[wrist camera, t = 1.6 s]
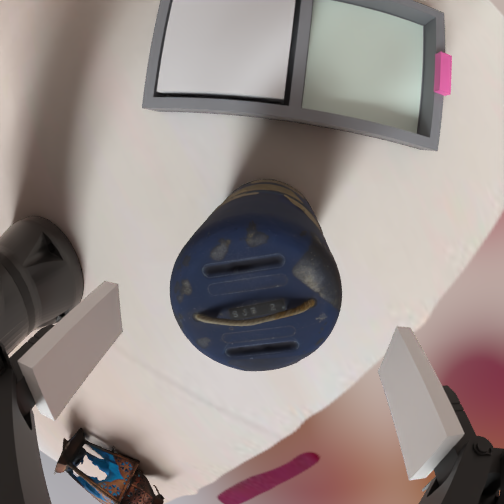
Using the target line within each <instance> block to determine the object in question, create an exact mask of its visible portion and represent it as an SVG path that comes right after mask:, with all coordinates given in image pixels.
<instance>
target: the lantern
mask: <svg viewBox="0 0 504 504" xmlns="http://www.w3.org/2000/svg"><path fill="white" fill-rule="evenodd" d="M84 444H88V445H89V446H90V447H91V448H92V449H93V450H95V451H96V452H97V453H99V454H100V455H101V456H102V457H103V458H104V459H99V458H97V457H95V456H93V455H91V454H90V453H88V452H86V451H85V449H84V448H83V445H84ZM114 448H115V447H114V446H113V448H112V450H111V451H110V450H107V449H104V448H102V447H100V446H98V445H95V444H93V443H90V442H88V441H86V440H85V439H84V435H83V433H82V428H80V429H79V430H78V432H77V433H76V434H75V435H74V436H73V437H72V438H71V439H70V440H69V441H67V440H66V439H65V438H64V440H63V451H62V453H61V456H60V458H59V460H58V462H57V465H56V468H55V472H57V473H61V472H64V471H66V472H67V473H69V475H70V476H71V477H72V478H73V479H74V480H75V481H77V483H79V484H80V485H81V486H82V487H83V488H85V490H86V491H87V492H89V493H90V494H91V495H92V496H93V497H94V498H96V499H97V500H98V501H99V502H101V503H102V504H163V499H164V497H163V496H162V495H160V494H159V491H158V490H157V488H156V486H155V485H153V486H155V488H156V490H157V492H158V495H157V496H155V494H154V492H153V489H152V487H151V485H150V483H149V481H148V479H147V478H146V476H145V475H144V474H143V473H142V472H141V471H139V470H137V467H138V465H139V461H136V460H133V459H131V458H128V457H125V456H122V455H119V454H117V453H114V452H115V450H114ZM85 455H87V457H88V459H89V460H91V461H92V463H93V464H94V465H95V466H96V465H97V466H98V467H99V469H100V470H102V471H103V472H105V473H106V474H107V477H106V479H105V480H102V481H99V480H98V479H97V477H90V476H87V475H86V474H85V473H83V472H82V471H80V470H79V469H78V468H77V466H78V465H79V464H80V462H81V464H83V458H84V456H85ZM73 470H74V471H75V472H76V473H77V474H78V475H80V476H79V477H76V476H75V475H74V474H73Z"/></svg>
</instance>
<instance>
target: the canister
mask: <svg viewBox="0 0 504 504" xmlns="http://www.w3.org/2000/svg"><path fill="white" fill-rule="evenodd" d="M170 300H171V305H172V309H173V313H174V316H175V318H176V320H177V322H178V324H179V326H180V328H181V330H182V331H183V333H184V334H185V336H186V337H187V338H188V339H189V341H190V342H191V343H192V344H193V345H194V346H195V347H196V348H197V349H198V350H199V351H200V352H202V353H203V354H205V355H206V356H208V357H209V358H211V359H213V360H214V361H217V362H219V363H221V364H223V365H226V366H229V367H232V368H235V369H239V370H244V371H267V370H274V369H279V368H283V367H286V366H289V365H292V364H295V363H297V362H298V361H300V360H301V359H303V358H305V357H307V356H309V355H310V354H311V353H313V352H314V351H315V350H317V349H318V348H319V347H320V346H321V345H322V344H323V343H324V342H325V340H326V339H327V338H328V336H329V335H330V333H331V332H332V330H333V328H334V326H335V324H336V321H337V319H338V316H339V312H340V308H341V302H342V286H341V279H340V274H339V271H338V268H337V265H336V262H335V260H334V257H333V255H332V253H331V252H330V250H329V247H328V245H327V243H326V240H325V238H324V236H323V232H322V229H321V227H320V225H319V223H318V220H317V218H316V216H315V214H314V212H313V211H312V209H311V207H310V205H309V203H308V202H307V200H306V199H305V198H304V197H303V195H302V194H301V193H300V192H298V191H297V190H296V189H294V188H293V187H291V186H289V185H287V184H285V183H283V182H280V181H276V180H257V181H252V182H250V183H247V184H245V185H243V186H241V187H240V188H238V189H237V190H235V191H234V192H233V193H232V194H231V195H230V196H229V197H228V198H227V199H226V200H225V201H224V202H223V203H222V204H221V205H220V206H218V207H217V208H216V209H215V210H214V212H213V213H212V214H211V215H210V216H209V217H208V219H207V220H206V221H205V222H204V223H203V224H202V225H201V227H200V228H199V229H198V230H197V231H196V232H195V233H194V235H193V236H192V237H191V238H190V240H189V241H188V242H187V243H186V245H185V246H184V247H183V249H182V250H181V252H180V254H179V256H178V257H177V259H176V262H175V264H174V267H173V271H172V275H171V280H170Z"/></svg>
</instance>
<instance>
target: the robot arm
mask: <svg viewBox="0 0 504 504" xmlns="http://www.w3.org/2000/svg"><path fill="white" fill-rule="evenodd" d="M82 294H83V276H82V271H81V267H80V263H79V260H78V258H77V255H76V253H75V251H74V249H73V247H72V245H71V243H70V242H69V240H68V239H67V237H66V236H65V235H64V234H63V232H62V231H61V230H60V229H59V228H58V227H57V226H56V225H54V224H53V223H52V222H50V221H49V220H47V219H45V218H42V217H38V216H31V217H27V218H24V219H22V220H20V221H17V222H16V223H14V224H13V225H11V226H10V227H9V228H8V229H7V231H6V232H5V233H4V234H3V235H2V236H1V237H0V504H51V501H50V497H49V493H48V489H47V486H46V481H45V477H44V473H43V469H42V464H41V459H40V453H39V448H38V442H37V436H36V429H35V421H34V414H33V411H32V408H33V406H34V405H35V404H36V406H37V408H38V410H39V412H40V414H42V415H44V416H46V417H48V418H50V419H52V420H54V421H55V420H56V419H57V417H58V416H59V415H60V413H61V412H62V411H63V409H64V408H65V406H66V405H67V404H68V402H69V401H70V400H71V398H72V397H73V395H74V394H75V393H76V391H77V390H78V389H79V387H80V386H81V385H82V383H83V382H84V381H85V379H86V378H87V377H88V375H89V374H90V373H91V371H92V370H93V369H94V368H95V366H96V365H97V364H98V362H99V361H100V360H101V358H102V357H103V356H104V355H105V353H106V352H107V351H108V349H109V348H110V347H111V346H112V344H113V343H114V342H115V341H116V339H117V338H118V337H119V335H120V334H121V333H122V332H123V330H122V321H121V312H120V301H119V289H118V284H116V283H111V282H107V281H104V282H103V283H102V284H101V285H100V286H98V287H97V288H96V289H95V290H94V291H93V292H91V293H90V294H89V295H88V296H87V297H86V298H85V299H83V300H82V301H81V299H82ZM57 322H58V323H57ZM55 323H57V324H56V325H52V324H55ZM45 326H46V327H45ZM42 327H44V328H42ZM39 328H42V329H40V330H39V331H38V332H37V333H36V334H35V335H34V337H31V338H30V339H29V340H28V342H26V343H25V344H24V345H23V346H22V347H21V348H20V349H19V350H18V351H16V352H15V353H14V354H13V355H12V356H11V357H10V358H9V357H8V354H9V353H10V352H11V351H12V350H13V349H14V348H15V347H16V346H17V345H18V344H19V343H20V342H21V341H22V340H23V339H25V337H26V336H28V335H29V334H30V333H31V332H32V331H34V330H36V329H39ZM378 373H379V376H380V379H381V382H382V385H383V388H384V392H385V395H386V398H387V401H388V405H389V408H390V411H391V415H392V418H393V422H394V425H395V428H396V432H397V435H398V439H399V443H400V447H401V450H402V454H403V458H404V462H405V466H406V470H407V474H408V478H409V480H415V479H421V478H426V477H427V476H428V475H429V474H430V473H431V472H432V471H433V470H434V471H435V475H436V477H435V478H434V479H432V480H431V482H429V483H428V484H427V485H426V486H425V487H424V488H423V490H422V491H425V490H426V489H427V488H428V489H427V490H426V492H425V494H424V496H423V497H422V499H421V501H420V503H419V504H504V449H500V448H493V446H492V444H491V443H490V442H489V441H488V440H487V439H486V438H484V437H481V436H476V434H475V432H474V430H473V428H472V426H471V424H470V421H469V419H468V417H467V415H466V413H465V412H464V411H463V407H462V405H461V404H460V401H459V399H458V398H457V395H456V394H455V393H454V392H453V391H452V390H451V389H450V388H449V387H448V386H442V385H441V383H440V381H439V379H438V377H437V375H436V373H435V371H434V369H433V368H432V366H431V364H430V362H429V360H428V358H427V356H426V355H425V353H424V351H423V349H422V347H421V345H420V344H419V342H418V340H417V338H416V337H415V335H414V333H413V331H412V330H411V328H409V327H396V329H395V332H394V334H393V337H392V339H391V342H390V344H389V347H388V349H387V352H386V354H385V356H384V359H383V361H382V363H381V366H380V368H379V370H378ZM499 490H500V496H499Z"/></svg>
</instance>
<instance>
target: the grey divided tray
mask: <svg viewBox="0 0 504 504" xmlns="http://www.w3.org/2000/svg"><path fill="white" fill-rule="evenodd" d="M451 66H452V56H450V55H448V54H446V53H445V25H444V13H443V12H441V11H438V10H436V9H433V8H431V7H428V6H426V5H423V4H421V3H418V2H415V1H413V0H161V1H160V5H159V10H158V14H157V19H156V23H155V28H154V33H153V38H152V44H151V49H150V55H149V61H148V67H147V74H146V81H145V88H144V95H143V104H142V108H144V109H149V110H154V111H165V112H196V113H214V114H227V115H239V116H249V117H259V118H267V119H275V120H283V121H290V122H297V123H303V124H309V125H315V126H321V127H327V128H332V129H337V130H342V131H347V132H352V133H357V134H361V135H366V136H370V137H375V138H379V139H383V140H387V141H391V142H395V143H399V144H402V145H406V146H410V147H413V148H417V149H421V150H431V151H438V144H439V136H440V128H441V119H442V108H443V95H444V96H446V95H450V92H451Z"/></svg>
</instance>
